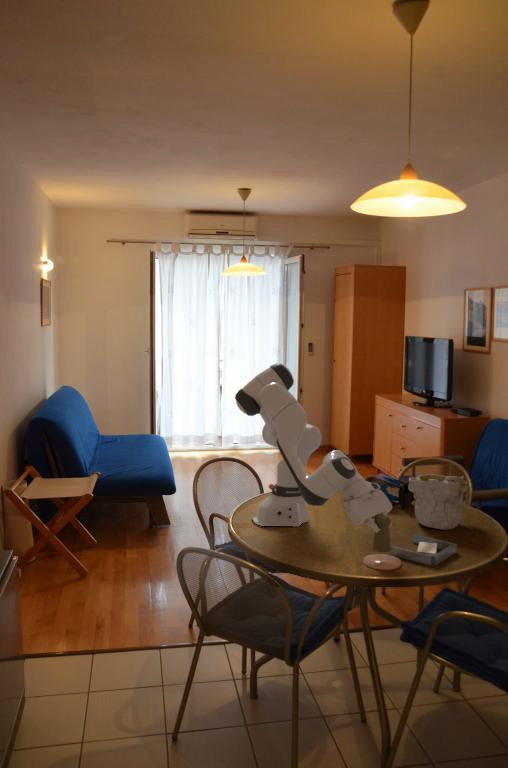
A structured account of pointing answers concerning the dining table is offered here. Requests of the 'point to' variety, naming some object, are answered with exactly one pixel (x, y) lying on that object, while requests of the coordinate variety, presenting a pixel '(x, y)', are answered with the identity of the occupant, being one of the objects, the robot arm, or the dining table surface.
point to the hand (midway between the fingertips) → (383, 529)
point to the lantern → (386, 481)
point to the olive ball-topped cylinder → (382, 534)
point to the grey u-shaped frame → (446, 552)
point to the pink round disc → (382, 562)
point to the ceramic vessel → (439, 500)
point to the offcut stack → (427, 548)
